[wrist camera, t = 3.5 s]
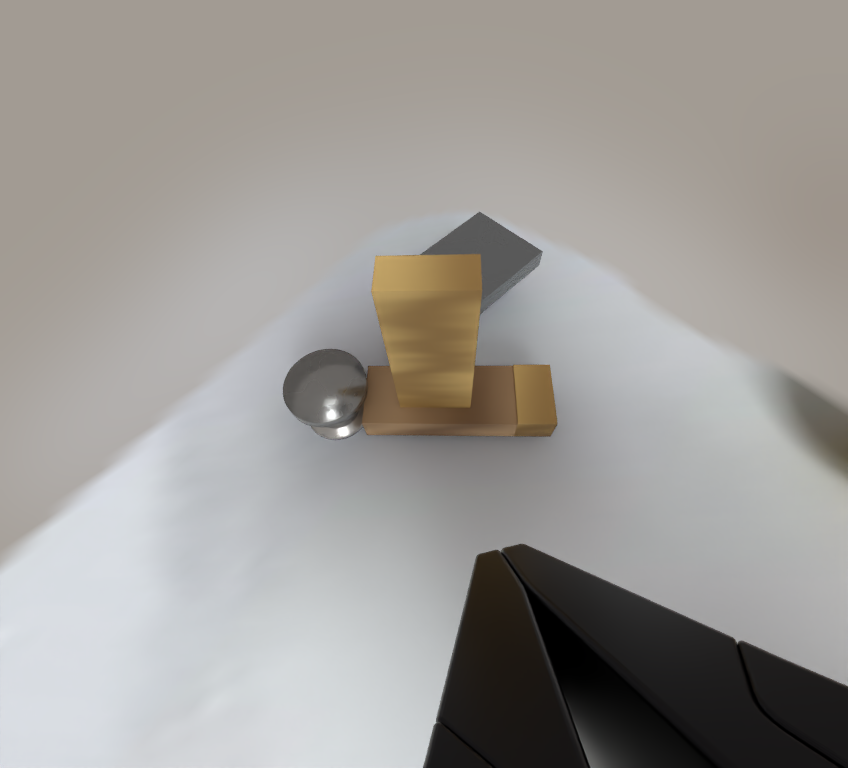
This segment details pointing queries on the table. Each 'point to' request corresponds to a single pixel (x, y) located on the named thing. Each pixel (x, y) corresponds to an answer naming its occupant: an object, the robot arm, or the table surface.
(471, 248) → the block
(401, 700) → the table surface
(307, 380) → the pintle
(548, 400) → the link
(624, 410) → the table surface
